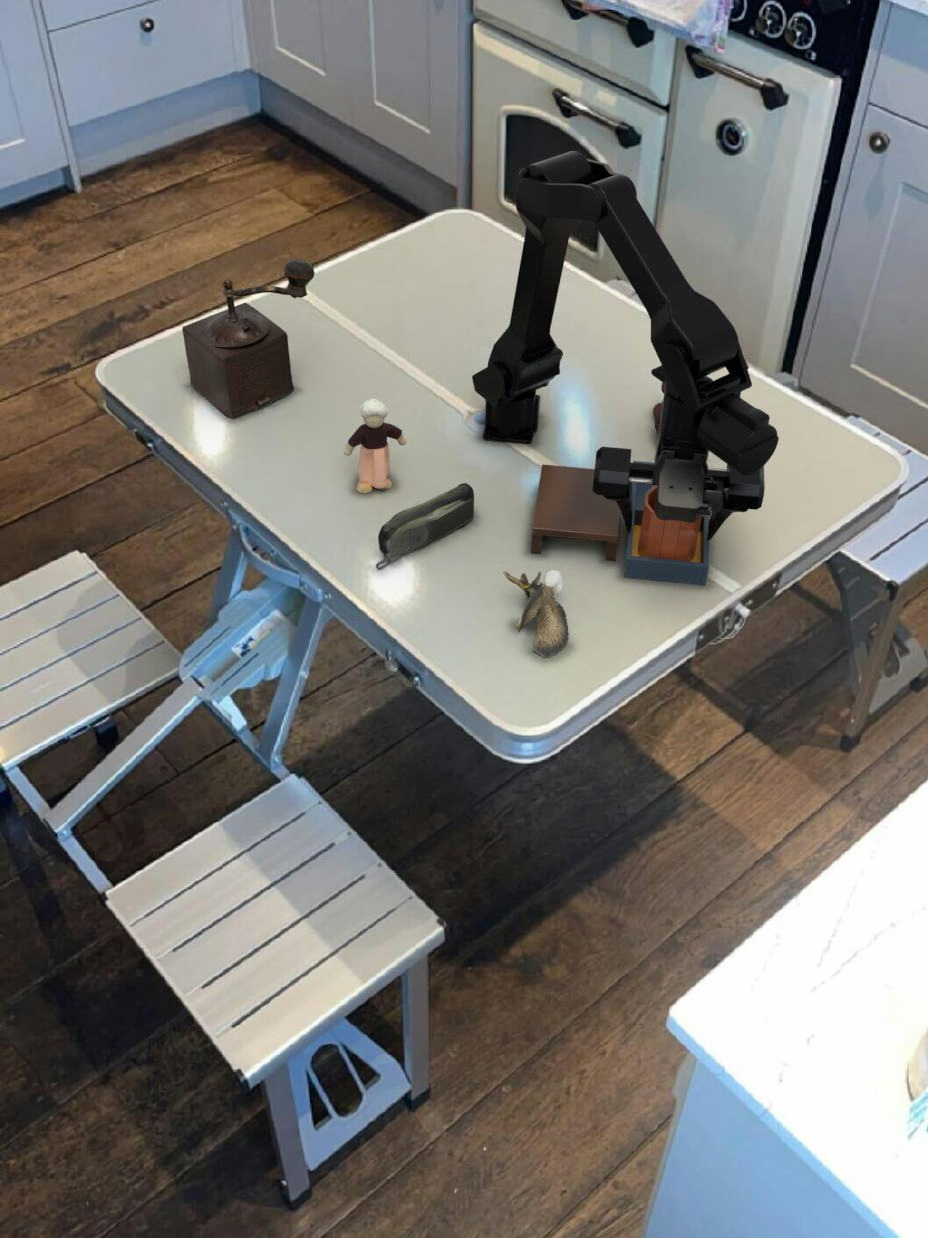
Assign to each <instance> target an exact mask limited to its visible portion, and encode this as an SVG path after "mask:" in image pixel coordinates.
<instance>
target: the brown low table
mask: <svg viewBox="0 0 928 1238" xmlns="http://www.w3.org/2000/svg"><path fill="white" fill-rule="evenodd" d="M594 471H595V468H586V467H575V466H565V465H564V466H563V465H554V464H541V469H540V476H539V482H538V489H537V495H536V501H535V509H534V514H533V521H532V529H531V541H530V543H531V544H530V554H534V555H535V554H536V555H542V549H543V543H544V536H546V537H547V536H548V537H559V538H569V539H577V540H578V539H579V540H590V541H600V542H606V546H605V547H606V549H605V557H604V558H605V559H604V560H605V561H606V562H616V561H617V552H618V544H619V538H620V537H619V535H620V525H621V524H620V522H621V510H620V508H619V506H618V504H617V502H616V501H613V500H608V499H606V498H605V497H604V495H597V494H595V493H594V492H593V491H592V490H593V480H594Z"/></svg>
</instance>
